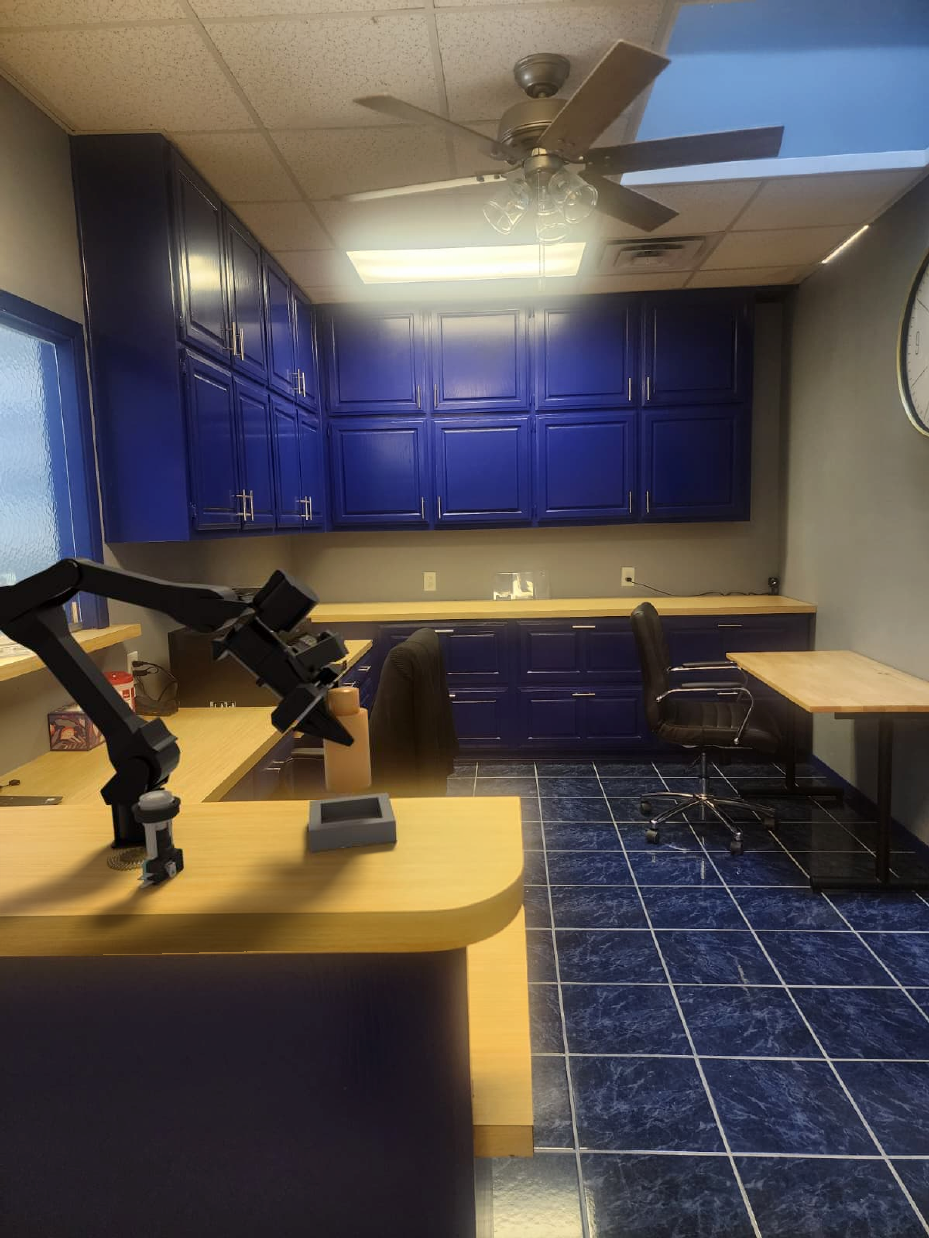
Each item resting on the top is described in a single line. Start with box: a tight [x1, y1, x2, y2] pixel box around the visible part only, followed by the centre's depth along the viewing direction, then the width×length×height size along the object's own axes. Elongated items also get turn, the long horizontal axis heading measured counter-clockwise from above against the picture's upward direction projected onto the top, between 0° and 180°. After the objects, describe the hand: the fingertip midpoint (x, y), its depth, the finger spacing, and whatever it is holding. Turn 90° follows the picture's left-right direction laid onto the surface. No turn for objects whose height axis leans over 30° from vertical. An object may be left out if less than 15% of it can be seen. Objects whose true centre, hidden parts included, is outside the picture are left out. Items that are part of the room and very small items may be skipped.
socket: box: [308, 792, 398, 853], centre depth 98 cm, size 11×11×3 cm
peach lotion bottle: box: [322, 686, 372, 794], centre depth 97 cm, size 6×6×13 cm
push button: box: [132, 789, 185, 889], centre depth 86 cm, size 7×5×10 cm
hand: (356, 737), depth 97 cm, fingers closed on peach lotion bottle, 6 cm apart
